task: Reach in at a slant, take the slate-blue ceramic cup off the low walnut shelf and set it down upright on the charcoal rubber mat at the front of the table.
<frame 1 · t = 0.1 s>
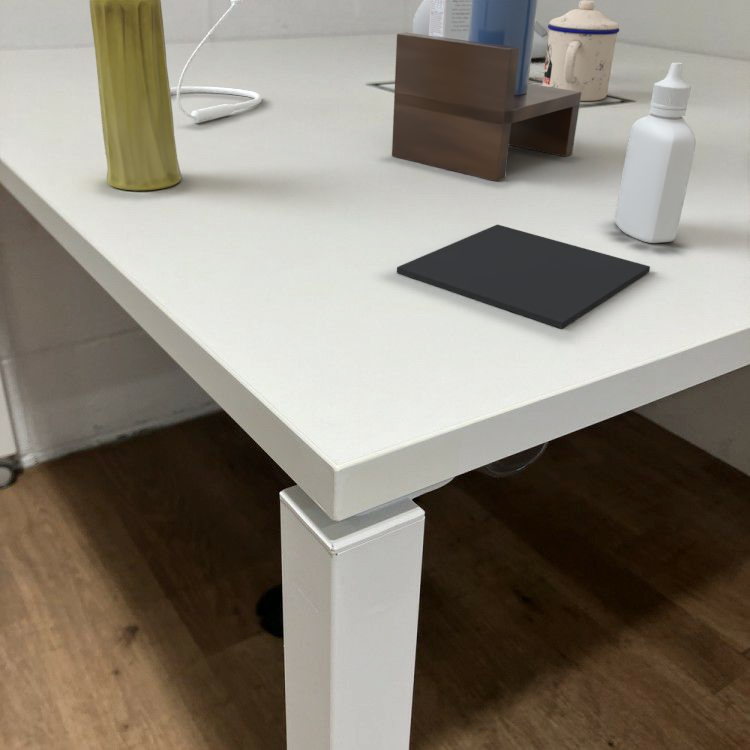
eye dropper bottle: (642, 234, 62), on the table
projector: (482, 55, 142), on the table
mat: (524, 272, 54), on the table
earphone: (192, 109, 95), on the table
vase: (145, 183, 69), on the table
cup: (495, 90, 78), point 6 cm above the table, touching shelf
teacup with lid: (571, 98, 109), on the table
cracker box: (475, 81, 119), on the table
shelf: (483, 155, 80), on the table
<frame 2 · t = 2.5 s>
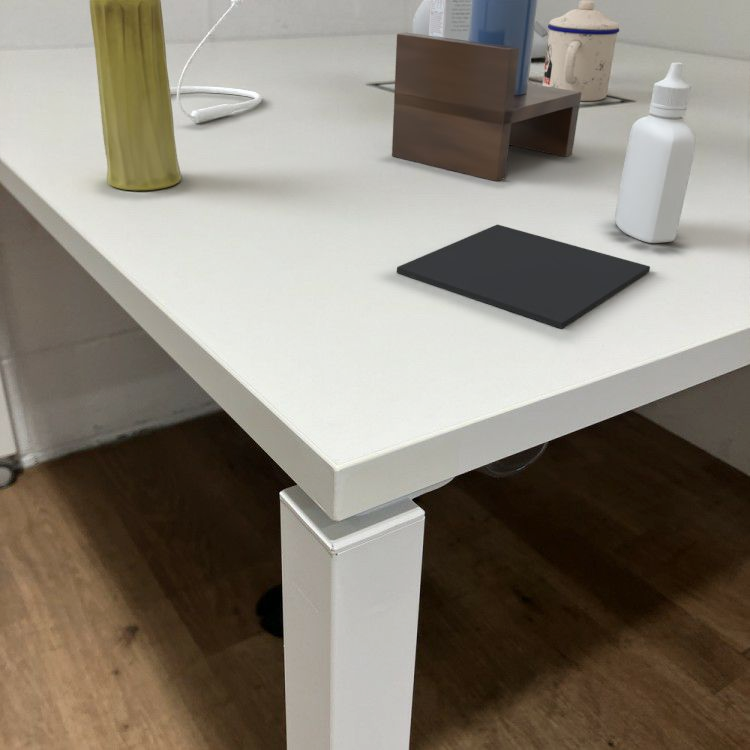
nothing on the table moved.
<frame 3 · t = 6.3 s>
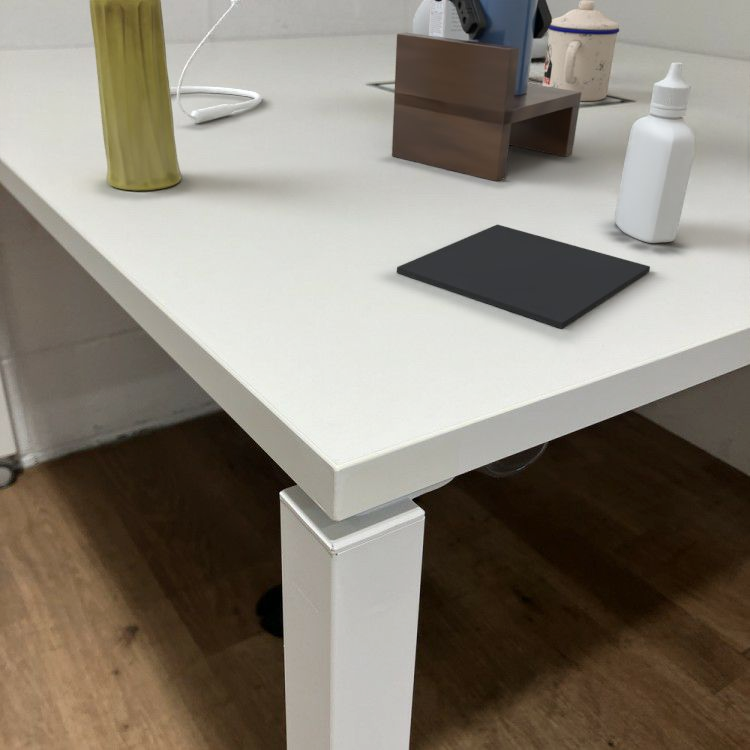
hand: (511, 32, 74), 11 cm above the table, tool tilted 45°, fingers closed on cup, 6 cm apart
cup: (495, 90, 78), point 6 cm above the table, touching gripper, shelf
everything else where it was.
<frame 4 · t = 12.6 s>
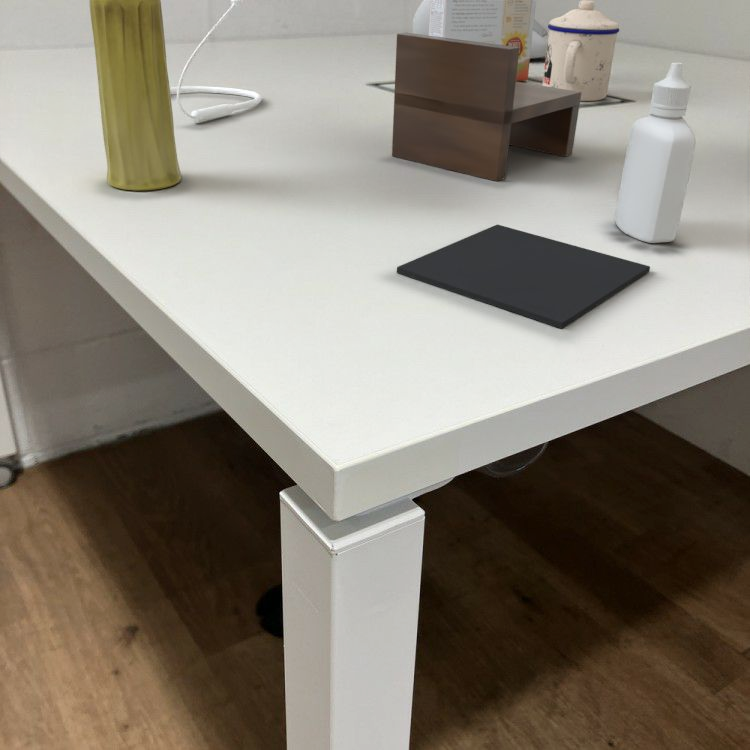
when the fingers open (6 cm above the table, at t = 19.0 s): cup stays where it is, resting on mat.
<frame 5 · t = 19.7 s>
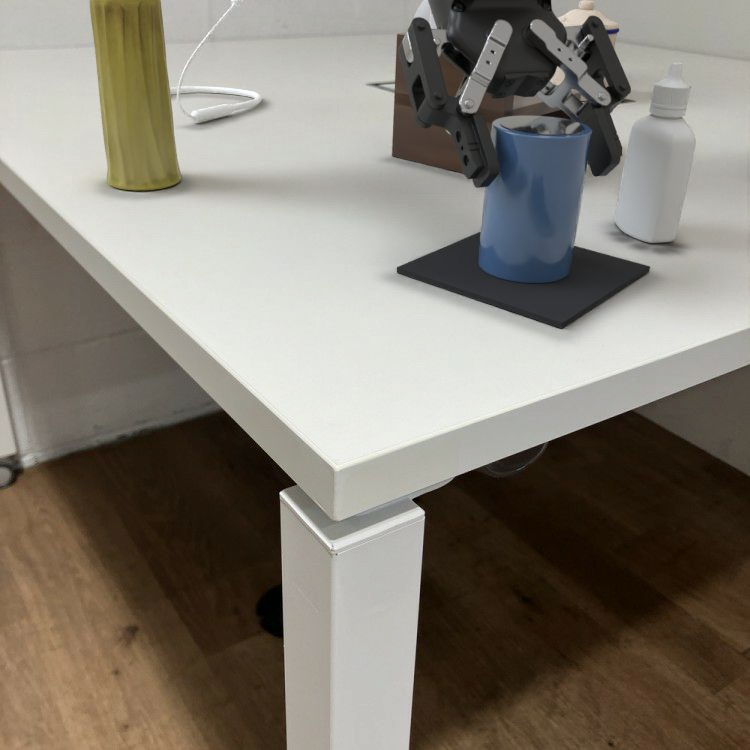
hand: (550, 175, 49), 7 cm above the table, tool tilted 45°, fingers open, 8 cm apart
cup: (523, 266, 53), resting on mat
everything else where it was.
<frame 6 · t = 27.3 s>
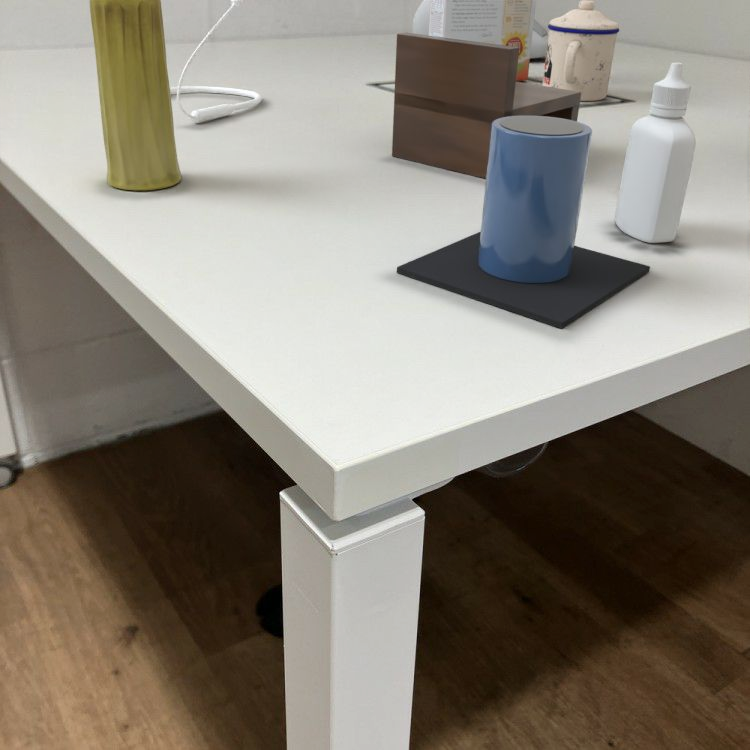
nothing on the table moved.
at the end: cup 0.1 cm off-centre on the mat, point 0.4 cm above the mat's base; cup tilted 0°; the gripper is holding nothing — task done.
